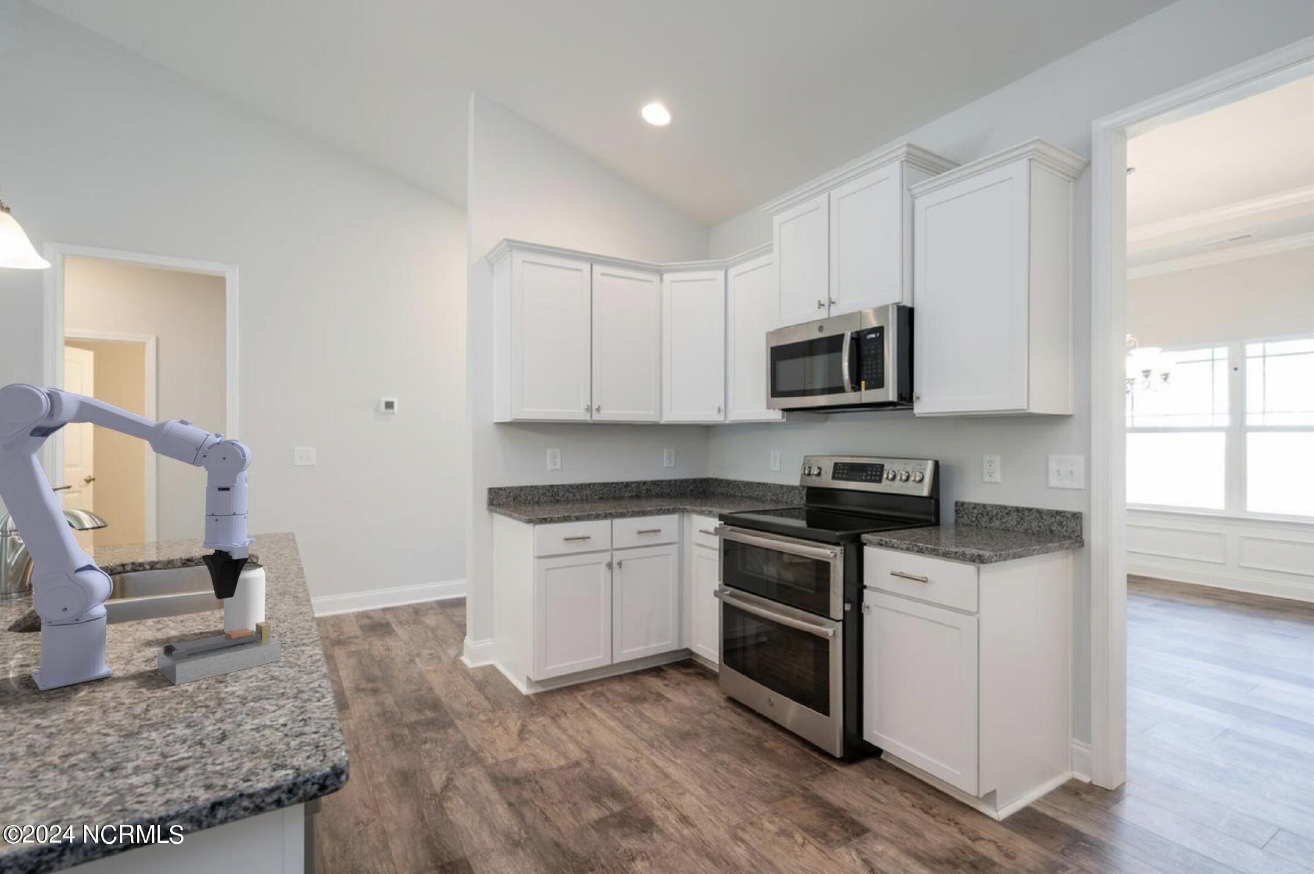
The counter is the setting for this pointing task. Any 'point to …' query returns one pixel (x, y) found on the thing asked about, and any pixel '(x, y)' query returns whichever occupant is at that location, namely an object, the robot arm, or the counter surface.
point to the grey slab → (218, 641)
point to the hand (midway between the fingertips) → (224, 597)
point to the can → (246, 600)
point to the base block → (218, 658)
